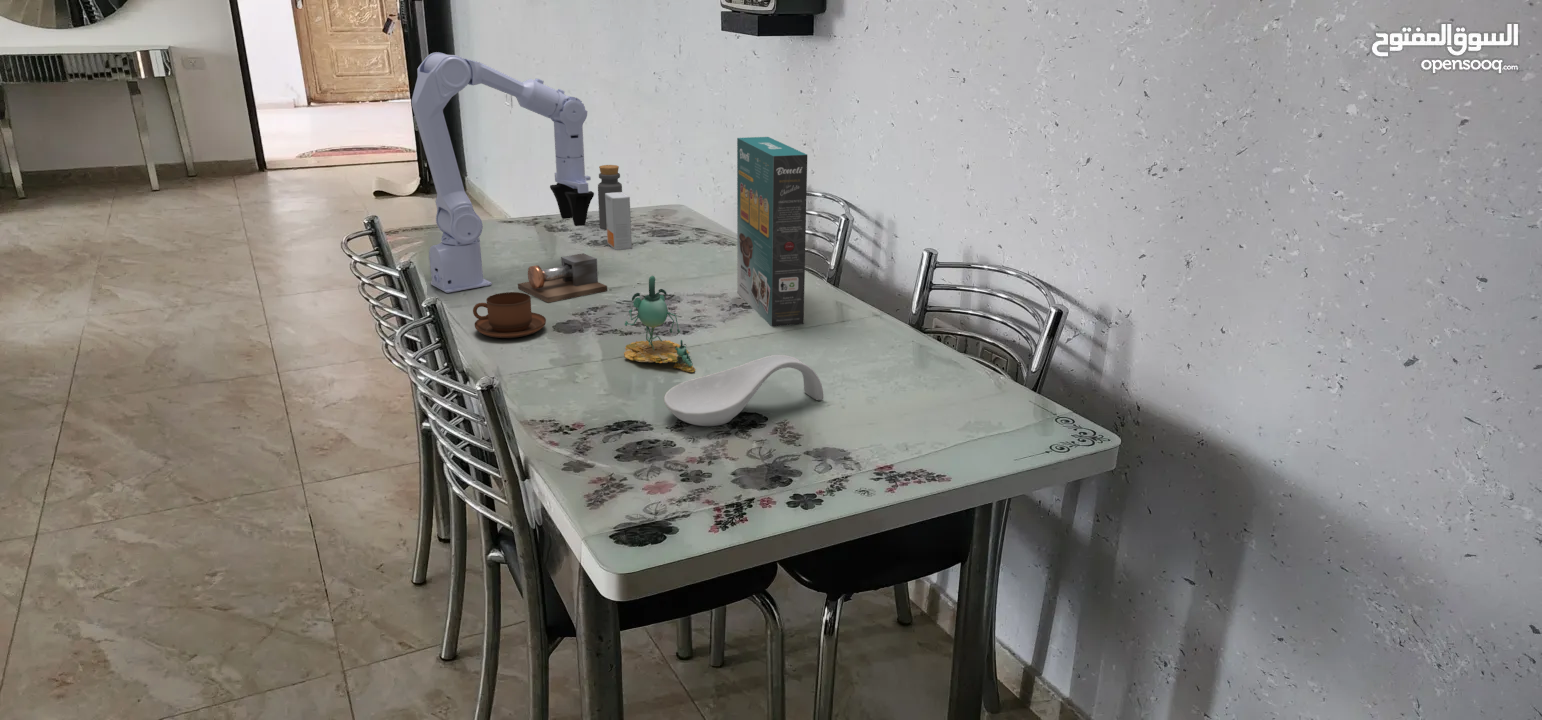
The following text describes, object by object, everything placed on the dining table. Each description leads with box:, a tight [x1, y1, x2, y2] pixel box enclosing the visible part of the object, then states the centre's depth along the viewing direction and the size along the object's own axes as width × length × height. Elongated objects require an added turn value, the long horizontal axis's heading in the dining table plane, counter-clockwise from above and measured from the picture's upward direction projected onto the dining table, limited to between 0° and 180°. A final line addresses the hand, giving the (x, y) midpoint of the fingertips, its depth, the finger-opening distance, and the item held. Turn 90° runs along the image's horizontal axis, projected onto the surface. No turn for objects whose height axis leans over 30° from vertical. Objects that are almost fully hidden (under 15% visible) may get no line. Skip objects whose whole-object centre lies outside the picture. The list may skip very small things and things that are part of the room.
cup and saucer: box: [472, 291, 547, 339], centre depth 174 cm, size 12×12×6 cm
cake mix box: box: [736, 136, 808, 328], centre depth 185 cm, size 22×6×30 cm, turn 18°
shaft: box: [527, 265, 573, 289], centre depth 197 cm, size 9×4×4 cm, turn 130°
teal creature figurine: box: [623, 275, 696, 374], centre depth 162 cm, size 10×18×15 cm, turn 31°
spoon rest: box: [663, 354, 824, 427], centre depth 143 cm, size 24×12×7 cm, turn 119°
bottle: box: [597, 164, 623, 230], centre depth 248 cm, size 6×6×15 cm
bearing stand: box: [517, 253, 608, 304], centre depth 198 cm, size 13×12×6 cm
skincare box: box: [605, 191, 633, 251], centre depth 230 cm, size 6×4×12 cm
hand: (573, 221), depth 211 cm, fingers open, 7 cm apart
